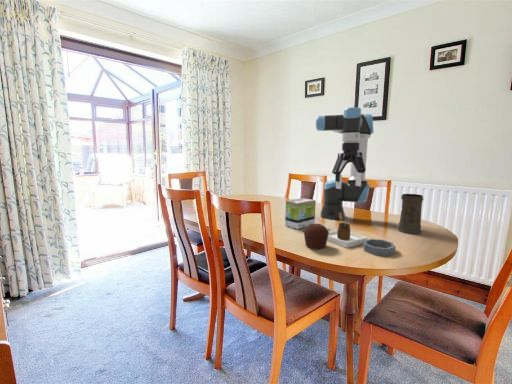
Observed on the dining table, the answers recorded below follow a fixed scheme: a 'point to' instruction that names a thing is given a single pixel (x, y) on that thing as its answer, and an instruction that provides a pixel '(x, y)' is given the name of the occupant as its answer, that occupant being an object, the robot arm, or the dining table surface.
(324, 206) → the robot arm
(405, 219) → the beer stein
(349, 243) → the tray
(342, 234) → the utensil holder
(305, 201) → the tea box
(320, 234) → the muffin
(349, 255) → the dining table surface
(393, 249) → the grey octagonal ring
